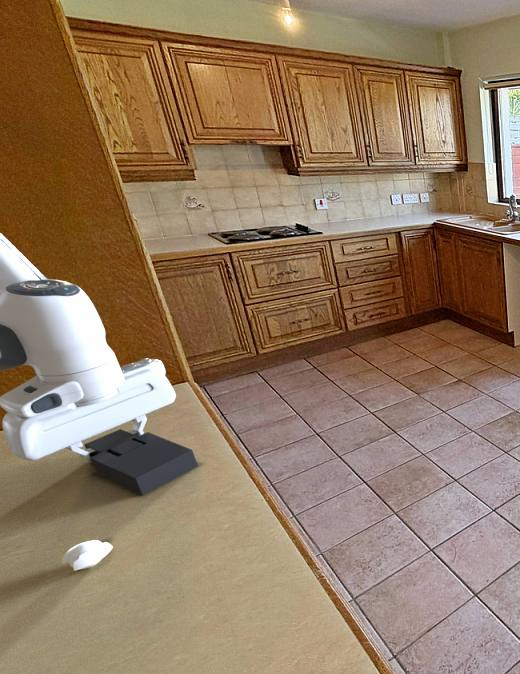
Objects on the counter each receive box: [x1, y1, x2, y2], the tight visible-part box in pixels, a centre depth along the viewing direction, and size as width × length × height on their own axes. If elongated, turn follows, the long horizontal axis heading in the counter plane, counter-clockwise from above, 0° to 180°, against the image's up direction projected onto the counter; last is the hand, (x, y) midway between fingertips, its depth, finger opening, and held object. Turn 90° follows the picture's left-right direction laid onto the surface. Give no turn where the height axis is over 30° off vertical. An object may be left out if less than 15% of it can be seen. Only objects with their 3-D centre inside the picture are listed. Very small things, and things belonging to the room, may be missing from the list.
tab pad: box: [83, 428, 143, 457], centre depth 81 cm, size 8×5×4 cm, turn 69°
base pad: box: [90, 431, 199, 496], centre depth 79 cm, size 12×8×4 cm, turn 69°
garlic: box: [60, 539, 113, 572], centre depth 62 cm, size 5×3×5 cm
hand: (115, 449), depth 82 cm, fingers closed on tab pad, 5 cm apart
